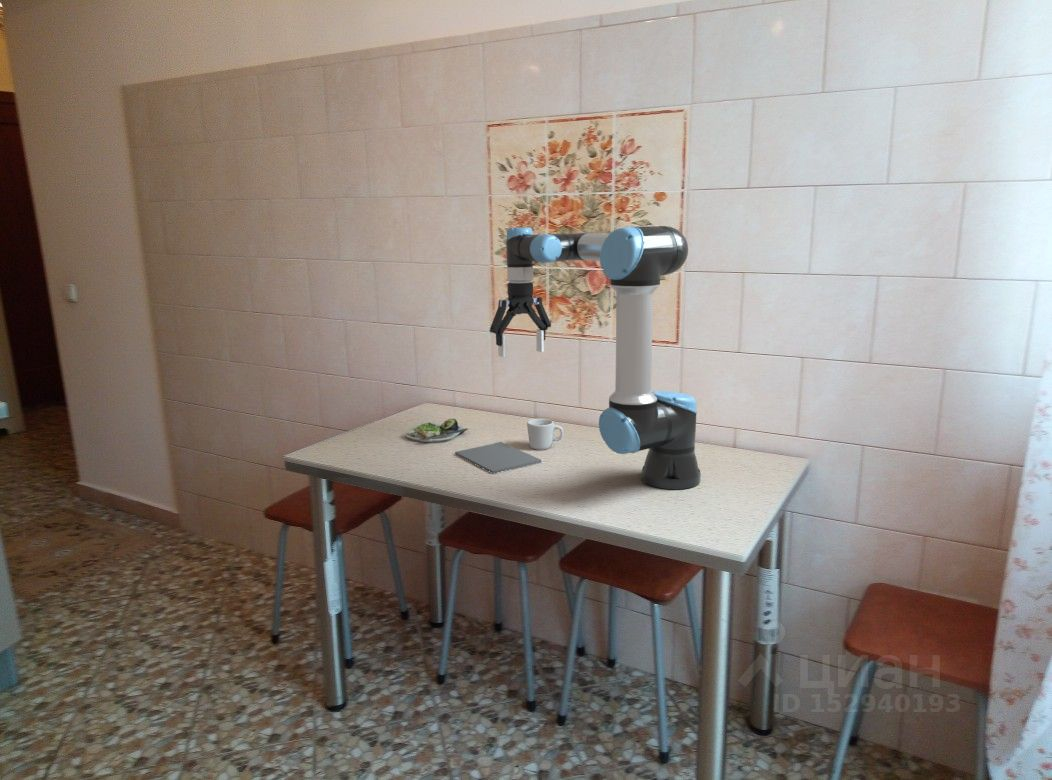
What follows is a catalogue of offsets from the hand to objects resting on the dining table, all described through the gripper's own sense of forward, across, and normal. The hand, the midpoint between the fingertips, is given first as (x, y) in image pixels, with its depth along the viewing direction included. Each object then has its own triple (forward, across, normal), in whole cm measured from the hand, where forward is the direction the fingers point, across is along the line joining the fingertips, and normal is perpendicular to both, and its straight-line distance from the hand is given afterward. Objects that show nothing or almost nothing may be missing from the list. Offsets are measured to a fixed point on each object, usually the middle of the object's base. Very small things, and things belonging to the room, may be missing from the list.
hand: (521, 354), depth 217 cm
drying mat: (+28, +14, +7) cm, 32 cm away
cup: (+28, -4, +7) cm, 29 cm away
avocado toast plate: (+28, +17, -25) cm, 41 cm away
